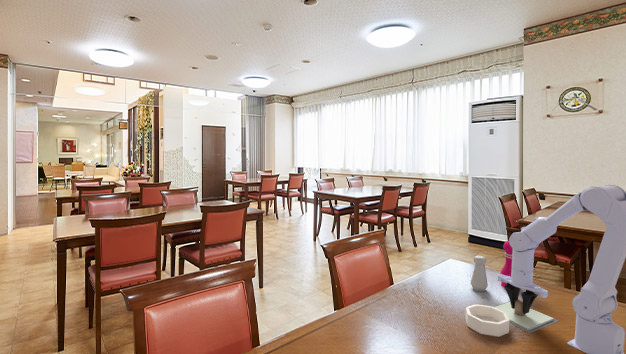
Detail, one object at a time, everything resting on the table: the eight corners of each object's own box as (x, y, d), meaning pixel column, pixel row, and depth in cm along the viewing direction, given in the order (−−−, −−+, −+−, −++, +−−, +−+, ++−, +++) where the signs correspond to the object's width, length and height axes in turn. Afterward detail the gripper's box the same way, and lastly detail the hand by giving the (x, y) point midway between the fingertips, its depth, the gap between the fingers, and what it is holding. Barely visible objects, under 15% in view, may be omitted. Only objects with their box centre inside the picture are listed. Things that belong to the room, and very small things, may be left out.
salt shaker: (489, 293, 120) (491, 259, 119) (472, 292, 121) (474, 258, 120) (484, 287, 126) (485, 254, 125) (468, 286, 127) (469, 253, 126)
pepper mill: (502, 290, 123) (504, 238, 122) (497, 282, 130) (499, 233, 129) (524, 292, 121) (526, 240, 120) (518, 284, 128) (520, 235, 126)
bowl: (515, 330, 96) (516, 317, 95) (491, 340, 91) (492, 326, 90) (481, 313, 106) (482, 302, 105) (458, 321, 101) (458, 309, 100)
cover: (553, 320, 101) (554, 305, 101) (528, 330, 95) (529, 315, 95) (512, 302, 113) (512, 289, 112) (487, 310, 107) (488, 297, 106)
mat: (558, 321, 101) (559, 320, 101) (530, 334, 94) (530, 333, 94) (511, 301, 114) (511, 300, 114) (482, 311, 107) (483, 310, 107)
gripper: (554, 274, 98) (552, 317, 99) (507, 260, 111) (505, 298, 112) (541, 278, 95) (538, 323, 96) (494, 263, 108) (492, 302, 109)
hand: (520, 310), depth 104 cm, fingers closed on cover, 3 cm apart
